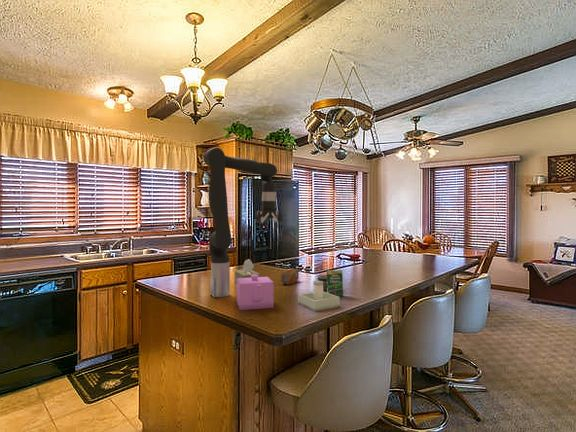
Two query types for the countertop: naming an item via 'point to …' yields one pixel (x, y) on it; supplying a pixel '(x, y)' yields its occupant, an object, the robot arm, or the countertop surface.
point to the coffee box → (335, 283)
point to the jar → (324, 279)
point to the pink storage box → (255, 293)
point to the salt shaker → (317, 290)
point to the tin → (289, 276)
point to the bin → (319, 301)
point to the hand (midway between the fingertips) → (268, 229)
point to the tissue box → (245, 271)
